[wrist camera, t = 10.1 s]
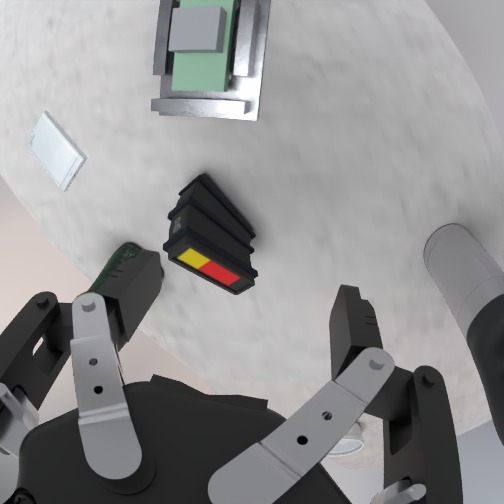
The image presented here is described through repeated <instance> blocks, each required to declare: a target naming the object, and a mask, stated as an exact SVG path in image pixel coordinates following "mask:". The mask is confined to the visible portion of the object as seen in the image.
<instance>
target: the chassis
mask: <svg viewBox="0 0 504 504" xmlns="http://www.w3.org/2000/svg"><path fill="white" fill-rule="evenodd" d="M180 2H181V0H160V7H159V15H158V23H157V32H156V42H155V53H154V65H153V75H161V90H160V98H157V99H152V100H151V111H159V115H172V116H201V117H219V118H232V119H243V120H254V121H257V120H258V110H259V100H260V91H261V81H262V72H263V63H264V53H265V44H266V35H267V26H268V17H269V8H270V0H237V6H236V15H235V23H234V32H233V41H232V51H231V60H230V70H229V81H228V92H219V91H181V90H176V91H172V80H173V67H174V55H175V52H172V51H168V50H169V40H170V31H171V22H172V14H173V8H180Z"/></svg>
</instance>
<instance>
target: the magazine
mask: <svg viewBox="0 0 504 504" xmlns="http://www.w3.org/2000/svg"><path fill="white" fill-rule="evenodd" d="M179 195H180V196H181V197H180V199H179V200H178V202H177V205H176V207H175V208H174V209H173V210H172V211H171V212H169V214H168V219H169V220H170V221H171V225H170V229H169V240H168V241H167V242H165V243H164V244H163V250H164V251H166V252H167V253H168V259H169V260H170V261H172V262H174V263H176V264H177V265H179V266H181V267H183V268H185V269H187V270H188V271H190V272H192V273H194V274H196V275H198V276H200V277H202V278H203V279H205V280H207V281H209V282H211V283H213V284H215V285H217V286H219V287H221V288H223V289H224V290H226V291H228V292H230V293H232V294H234V295H238V294H240V293H242V292H244V291H245V290H247V289H249V288H251V287H252V286H254V285H255V282H254V278H256V277H257V276H258V272H257V270H255V269H253V268H252V266H251V261H250V254H252V253H253V252H254V248H253V247H251V246H250V240H251V239H253V238H254V237H255V236H256V235H255V234H254V232H253V230H252V228H251V227H250V226H249V224H248V223H247V222H246V221H245V220H244V218H243V217H242V216H241V215H240V214H239V213H238V211H237V210H236V209H235V208H234V207H233V205H232V204H231V203H230V202H229V201H228V200H227V198H226V197H225V196H224V195H223V194H222V193H221V191H220V190H219V189H218V188H217V187H216V186H215V184H214V183H213V182H212V181H211V180H210V179H209V177H208V176H207V175H206V174H202V175H199V176H198V177H197V178H195V179H194V180H193V181H192V182H191V183H189V184H188V185H187V186H186V187H185V188H184V189H182V190H181V191H180V192H179Z"/></svg>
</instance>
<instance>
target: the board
mask: <svg viewBox="0 0 504 504" xmlns="http://www.w3.org/2000/svg"><path fill="white" fill-rule="evenodd" d="M236 6H237V0H181V2H180V8H173V14H172V22H171V31H170V40H169V50H168V51H172V52H175V55H174V67H173V80H172V91H176V90H181V91H219V92H228V81H229V70H230V60H231V51H232V41H233V32H234V23H235V15H236Z"/></svg>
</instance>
